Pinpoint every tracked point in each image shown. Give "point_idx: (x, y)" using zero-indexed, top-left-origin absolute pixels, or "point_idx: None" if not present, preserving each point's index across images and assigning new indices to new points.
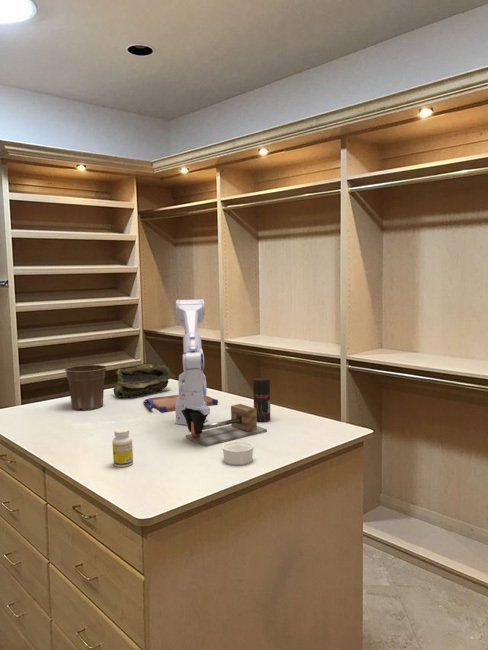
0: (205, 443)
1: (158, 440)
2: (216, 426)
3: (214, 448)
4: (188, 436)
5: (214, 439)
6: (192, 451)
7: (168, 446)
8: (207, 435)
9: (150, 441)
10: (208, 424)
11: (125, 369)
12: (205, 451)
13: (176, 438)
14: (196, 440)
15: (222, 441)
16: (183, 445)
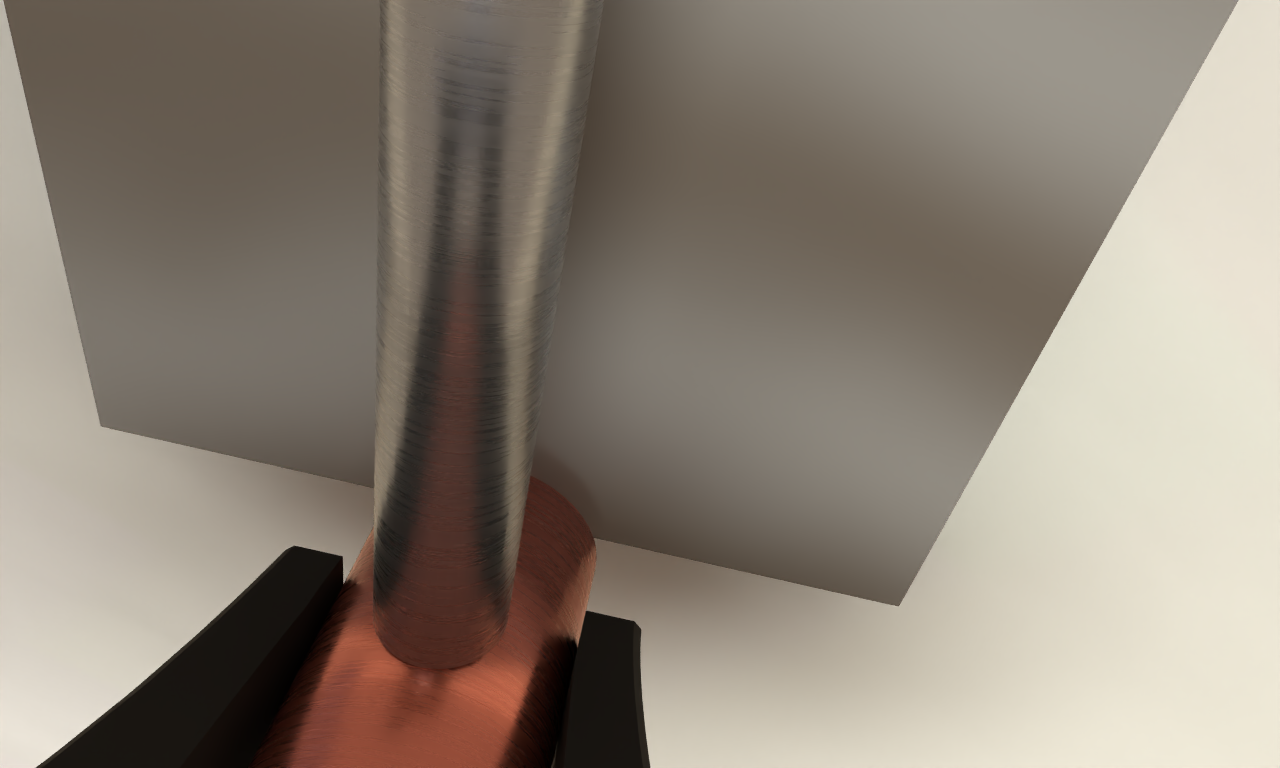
0: (870, 586)
1: (47, 668)
2: (591, 65)
3: (1122, 555)
4: (216, 449)
5: (866, 315)
6: (850, 764)
7: None
8: None
9: (38, 726)
10: (436, 417)
11: None
12: (1049, 703)
13: (88, 502)
14: None
15: (1095, 215)
16: None
